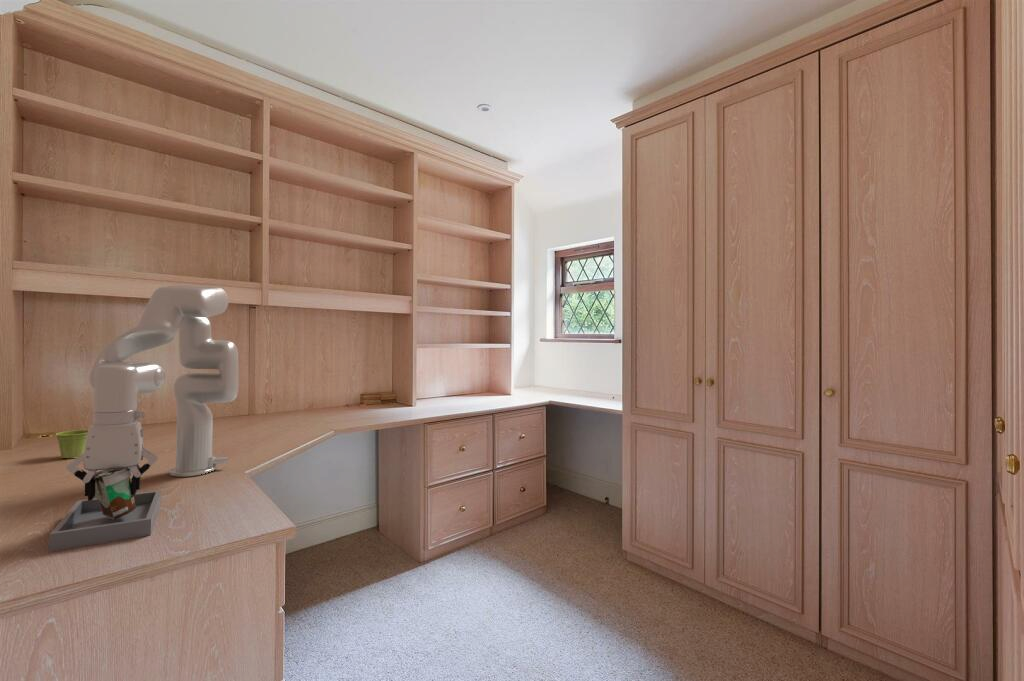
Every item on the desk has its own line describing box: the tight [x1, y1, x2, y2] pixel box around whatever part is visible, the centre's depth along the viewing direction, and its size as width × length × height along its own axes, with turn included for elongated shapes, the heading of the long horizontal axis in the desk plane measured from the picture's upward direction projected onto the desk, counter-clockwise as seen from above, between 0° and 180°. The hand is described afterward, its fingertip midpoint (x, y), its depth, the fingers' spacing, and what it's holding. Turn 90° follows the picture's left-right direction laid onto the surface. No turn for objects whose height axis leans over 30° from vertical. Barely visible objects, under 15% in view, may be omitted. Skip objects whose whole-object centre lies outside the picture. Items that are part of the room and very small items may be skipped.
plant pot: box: [55, 429, 88, 459], centre depth 161 cm, size 9×9×9 cm
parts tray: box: [49, 489, 162, 552], centre depth 105 cm, size 16×22×4 cm
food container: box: [93, 467, 136, 520], centre depth 106 cm, size 12×6×10 cm, turn 53°
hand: (113, 495), depth 105 cm, fingers closed on food container, 6 cm apart
